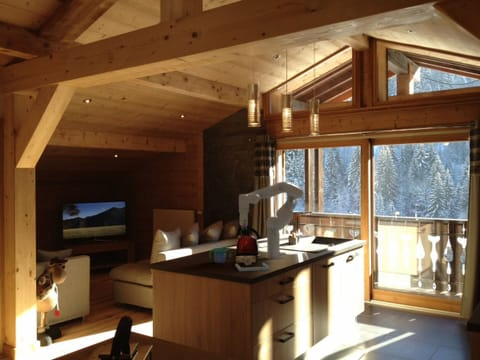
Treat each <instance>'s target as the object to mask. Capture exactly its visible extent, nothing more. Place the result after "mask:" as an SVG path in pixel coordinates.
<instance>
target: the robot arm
mask: <svg viewBox="0 0 480 360" xmlns="http://www.w3.org/2000/svg"><path fill="white" fill-rule="evenodd" d="M280 194H286V198H287V199H286V201H285V202H284V204H282V205H281V207H279V208H278V209H277V211H276V216H270V217H268V218H267V219H266V222H265V223H266V224H265V227H266V235H267V237H266V242H267V244H266V248H267V249H266V252H267V253H266V255H265V258H266V259H269V260H270V259H271V260H276V259H277V260H279V259H282V257H283V256H286V254H287V253H286V252H281V251H280V249H281V247H280V242H281V241H280V239H281V238H280V231H281V230H283V229H285V227H286V226H288V224H289V223H290V222H291V220H293V218H294V215H295V213H294V210H295V209H296V207H297V199H298V200H299V199H301V198H303V196H304V191H303V189H302V188H301V187H299V186H297V185H294V184H293V183H290V182H289V181H279V182H277V183H274V184H272V185H269V186H266V187H262V188H260V189H257V190H254V191H252V192H249V193H242V194H238V195H239V196H238V213H239V225H240V226H241V230H240V231H241V235H243V236H247V235H248V227H247V226H248V224H249V221H248V220H249V219H248V218H249V216H248V215H249V214H248V213H250V204H254V205H255V204H258V203H259V202H260V200H262V199H269V198H273V197H275V196H278V195H280Z"/></svg>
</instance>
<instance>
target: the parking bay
mask: <svg viewBox="0 0 480 360" xmlns="http://www.w3.org/2000/svg"><path fill="white" fill-rule="evenodd" d="M261 265H262V266H254V267H241V266H240V265H239V263H235V268H236V270H238V272H257V271H258V272H259V271H270V267H269V265H268V264H266V263H265V262H262V263H261Z"/></svg>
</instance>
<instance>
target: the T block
mask: <svg viewBox="0 0 480 360" xmlns="http://www.w3.org/2000/svg"><path fill="white" fill-rule="evenodd" d="M256 258H257V257H256V255H239V256H237V255H236V256H235V262H236V264H240V263H244V265H245V266H252V265H253V264H252V263H256V262H257V259H256Z"/></svg>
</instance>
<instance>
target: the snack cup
mask: <svg viewBox="0 0 480 360" xmlns="http://www.w3.org/2000/svg"><path fill="white" fill-rule="evenodd" d="M227 252H228V253H229V258H231V256H232V254H231V250H230V249H228V248H227V247H214V248H212V249H211V250H210V251H209V259H211V253H213V256H214V257H213V258H214V263H216V264H225V263H226V260H227V259H226V258H227Z"/></svg>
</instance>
